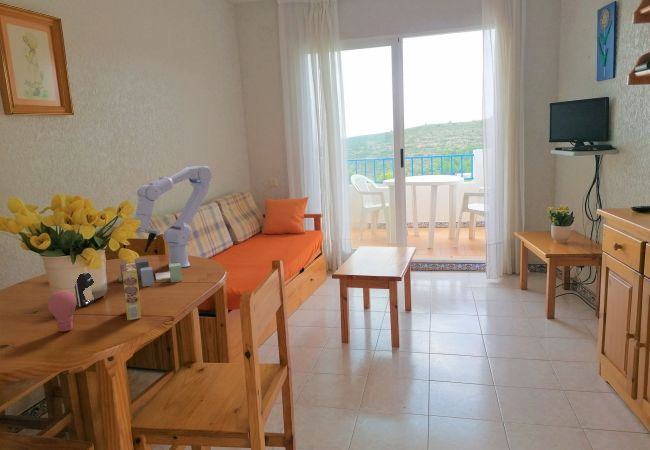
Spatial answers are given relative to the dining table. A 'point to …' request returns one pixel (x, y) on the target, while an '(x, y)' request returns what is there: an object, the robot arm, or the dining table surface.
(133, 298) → the candy box
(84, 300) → the black curved piece
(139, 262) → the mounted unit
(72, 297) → the light bulb
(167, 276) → the plate
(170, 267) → the sage part
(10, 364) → the dining table surface
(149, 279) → the blue-grey part
